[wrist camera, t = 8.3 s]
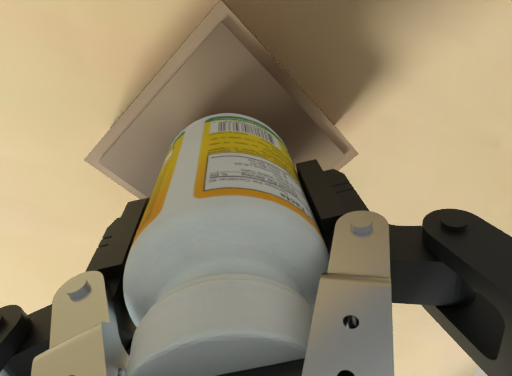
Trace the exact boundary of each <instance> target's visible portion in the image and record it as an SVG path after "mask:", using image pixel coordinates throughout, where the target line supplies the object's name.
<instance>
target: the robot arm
mask: <svg viewBox="0 0 512 376" xmlns="http://www.w3.org/2000/svg"><path fill="white" fill-rule="evenodd" d="M296 169H297V175H298V178H299V180H300V183H301V185H302V187H303V190H304V192H305V195H306V197H307V200H308V203H309V205H310V208H311V210H312V213H313V215H314V218H315V220H316V222H317V225H318V227H319V230H320V232H321V234H322V236H323V239H324V242H325V244H326V247H327V250H328V253H329V257H330V259H329V265H328V271H327V273H322V274H321V277H320V281H319V287H318V292H317V297H316V302H315V308H314V313H313V318H312V324H311V329H310V334H309V339H308V345H307V350H306V355H305V358H302V359H297V360H292V361H288V362H283V363H278V364H273V365H268V366H263V367H258V368H252V369H247V370H242V371H236V372H231V373H226V374H221V375H217V376H394V357H393V327H392V303H404V304H420V305H422V306H423V307H424V309H425V310H426V311H427V312H428V313H429V314H430V315H431V316H432V317H433V318H434V319H435V320H436V321H437V322H438V323H439V324H440V326H441V327H442V328H443V329H444V330H445V331H446V332H447V333H448V334H449V335H450V336H451V337H452V338H453V339H454V340H455V341H456V342H457V344H458V345H459V346H460V347H461V348H462V349H463V350H464V351H465V352H466V353H467V354H468V355H469V356H470V357H471V358H472V359H473V360H474V362H475V363H476V364H477V365H478V366H479V367H480V368H481V369H482V370H483V371H484V372H485V373H486V374H487V375H488V376H512V237H511V236H509V235H507V234H506V233H504V232H503V231H501V230H499V229H498V228H496V227H494V226H493V225H491V224H489V223H488V222H486V221H484V220H483V219H481V218H479V217H478V216H476V215H474V214H472V213H469V212H467V211H463V210H458V209H441V210H436V211H433V212H431V213H429V214H428V215H426V216H425V217H424V219H423V224H422V226H396V225H390V224H388V222H387V220H386V219H385V218H384V217H383V216H381V215H380V214H378V213H375V212H371V211H369V210H368V208H367V207H366V205H365V204H364V202H363V201H362V200H361V198H360V197H359V195H358V194H357V192H356V191H355V190H354V188H353V186H352V185H351V184H350V183H349V181H348V179H347V178H346V176H345V175H344V174H343V173H341V172H339V171H337V170H335V169H330V170H326V171H323V170H322V168H321V166H320V165H319V163H318V161H317V160H316V159H314V160H309V161H305V162H301V163H296ZM149 200H150V198H144V199H140V200H136V201H131V202H128V203H127V205H126V208H125V210H124V212H123V214H122V216H121V218H117V219H116V220H115V221H114V222H113V223H112V224H111V225H110V226H109V227H108V228H107V230H106V232H105V234H104V236H103V240H101V242H100V244H99V246H98V247H99V248H97V250H96V252H95V254H94V256H93V258H92V260H91V262H90V264H89V266H88V268H87V270H86V272H84V273H81V274H79V275H77V276H75V277H73V278H71V279H70V280H68V281H67V282H66V283H65V284H63V285H62V286H61V287H60V288H59V290H58V291H57V292H56V294H55V295H54V298H53V301H52V304H51V305H49V306H47V307H44V308H42V309H40V310H38V311H36V312H33V313H31V314H29V315H27V314H26V313H25V312H24V311H23V310H22V308H21V307H19V306H17V305H8V306H5V307H2V308H0V376H125V372H126V368H127V364H128V360H129V356H130V352H131V343H132V339H133V335H134V333H135V330H136V329H137V327H136V326H135V324H134V323H133V321H132V319H131V317H130V315H129V312H128V310H127V307H126V304H125V299H124V293H123V275H124V269H125V265H126V261H127V258H128V255H129V252H130V249H131V246H132V243H133V240H134V237H135V235H136V232H137V230H138V228H139V225H140V223H141V220H142V218H143V215H144V212H145V210H146V208H147V205H148V203H149Z"/></svg>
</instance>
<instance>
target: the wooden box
mask: <svg viewBox="0 0 512 376" xmlns="http://www.w3.org/2000/svg"><path fill="white" fill-rule="evenodd" d="M220 113H235V114H241V115H245V116H249V117H252V118H254V119H256V120H259V121H260V122H262V123H264V124H265V125H267V126H268V127H270V128H271V129H272V130H273V131H274V132H275V133H276V134H277V135H278V136H279V137H280V139H281V140H282V142H283V143H284V145H285V146H286V148H287V151H288V153H289V155H290V158H291V160H292V163H293V165H294V168H295V170H296V173H297V169H296V163H301V162H305V161H309V160H314V159H316V160H317V161H318V163H319V165H320V166H321V168H322V170H323V171H326V170H330V169H335V170H337V171H338V170H340V169H341V168H342V167H343V166H344V165H346V164H347V163H348V162H349V161H351V160H352V159H353V158H354V157H355V156H357V155H358V152H357V151H356V150H355V149H354V148H353V147H352V146H351V144H350V143H349V142H348V141H347V140H346V139H345V137H344V136H343V135H342V134H341V133H340V132H339V131H338V129H337V128H336V127H335V126H334V125H333V124H332V123H331V121H330V120H329V119H328V118H327V117H326V116H325V115H324V114H323V113H322V111H321V110H320V109H319V108H318V107H317V106H316V105H315V104H314V102H313V101H312V100H311V99H310V98H309V97H308V96H307V95H306V93H305V92H304V91H303V90H302V89H301V88H300V87H299V86H298V85H297V83H296V82H295V81H294V80H293V79H292V78H291V77H290V76H289V74H288V73H287V72H286V71H285V70H284V69H283V68H282V67H281V66H280V64H279V63H278V62H277V61H276V60H275V59H274V58H273V57H272V55H271V54H270V53H269V52H268V51H267V50H266V49H265V48H264V46H263V45H262V44H261V43H260V42H259V41H258V40H257V39H256V38H255V36H254V35H253V34H252V33H251V32H250V31H249V30H248V29H247V27H246V26H245V25H244V24H243V23H242V22H241V21H240V20H239V19H238V17H237V16H236V15H235V14H234V13H233V12H232V11H231V10H230V8H229V7H228V6H227V5H226V4H225V3H224V2H223V1H222V0H220V1H219V2H218V3H217V4H216V6H215V7H214V8H213V9H212V10H211V11H210V13H209V14H208V15H207V16H206V17H205V18H204V20H203V21H202V22H201V23H200V24H199V25H198V27H197V28H196V29H195V30H194V31H193V33H192V34H191V35H190V36H189V37H188V38H187V40H186V41H185V42H184V43H183V44H182V45H181V47H180V48H179V49H178V50H177V51H176V52H175V54H174V55H173V56H172V57H171V58H170V59H169V61H168V62H167V63H166V64H165V65H164V66H163V68H162V69H161V70H160V71H159V72H158V74H157V75H156V76H155V77H154V78H153V79H152V81H151V82H150V83H149V84H148V85H147V86H146V88H145V89H144V90H143V91H142V92H141V93H140V95H139V96H138V97H137V98H136V99H135V100H134V102H133V103H132V104H131V105H130V106H129V107H128V109H127V110H126V111H125V112H124V113H123V114H122V116H121V117H120V118H119V119H118V120H117V122H116V123H115V124H114V125H113V126H112V127H111V129H110V130H109V131H108V132H107V133H106V134H105V136H104V137H103V138H102V139H101V140H100V141H99V143H98V144H97V145H96V146H95V147H94V149H93V150H92V151H91V152H90V153H89V154H88V156H87V157H86V158H85V159H84V160H85V161H86V162H87V163H89V164H90V165H92V166H93V167H95V168H96V169H98V170H99V171H100V172H102V173H103V174H105V175H106V176H108V177H109V178H111V179H112V180H113V181H115V182H116V183H118V184H119V185H121V186H122V187H124V188H125V189H126V190H128V191H129V192H131V193H132V194H134V195H135V196H137V197H138V198H139V199H144V198H150V197H151V195H152V192H153V190H154V187H155V184H156V182H157V179H158V177H159V174H160V171H161V169H162V166H163V163H164V161H165V158H166V156H167V153H168V151H169V149H170V147H171V145H172V143H173V141H174V140H175V138H176V137H177V136H178V135H179V134H180V133H181V132H182V131H183V130H184V129H185V128H186V127H187V126H189V125H190V124H192V123H193V122H195V121H197V120H199V119H201V118H204V117H207V116H210V115H215V114H220Z"/></svg>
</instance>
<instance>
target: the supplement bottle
mask: <svg viewBox="0 0 512 376" xmlns="http://www.w3.org/2000/svg"><path fill="white" fill-rule="evenodd" d="M329 259H330V257H329V253H328V250H327V247H326V244H325V242H324V239H323V236H322V234H321V232H320V230H319V227H318V225H317V222H316V220H315V218H314V215H313V213H312V210H311V208H310V205H309V203H308V200H307V197H306V195H305V192H304V190H303V187H302V185H301V183H300V180H299V178H298V175H297V173H296V170H295V168H294V165H293V163H292V160H291V158H290V155H289V153H288V151H287V148H286V146H285V145H284V143H283V142H282V140H281V139H280V137H279V136H278V135H277V134H276V133H275V132H274V131H273V130H272V129H271V128H270V127H268V126H267V125H265V124H264V123H262V122H260V121H259V120H256V119H254V118H252V117H249V116H245V115H241V114H235V113H220V114H215V115H210V116H207V117H204V118H201V119H199V120H197V121H195V122H193V123H192V124H190V125H189V126H187V127H186V128H185V129H184V130H183V131H182V132H181V133H180V134H179V135H178V136H177V137H176V138H175V140H174V141H173V143H172V145H171V147H170V149H169V151H168V153H167V156H166V158H165V161H164V163H163V166H162V169H161V171H160V174H159V177H158V179H157V182H156V184H155V187H154V190H153V192H152V195H151V197H150V200H149V203H148V205H147V208H146V210H145V212H144V215H143V218H142V220H141V223H140V225H139V228H138V230H137V232H136V235H135V237H134V240H133V243H132V246H131V249H130V252H129V255H128V258H127V261H126V265H125V269H124V275H123V293H124V299H125V304H126V307H127V310H128V312H129V315H130V317H131V319H132V321H133V323H134V324H135V326H136V327H137V329H136V330H135V333H134V335H133V339H132V343H131V352H130V356H129V360H128V364H127V368H126V372H125V376H217V375H221V374H226V373H231V372H236V371H242V370H247V369H252V368H258V367H263V366H268V365H273V364H278V363H283V362H288V361H292V360H297V359H302V358H305V355H306V350H307V345H308V339H309V334H310V329H311V324H312V318H313V313H314V308H315V302H316V297H317V292H318V287H319V281H320V277H321V274H322V273H327V271H328V265H329Z"/></svg>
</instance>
